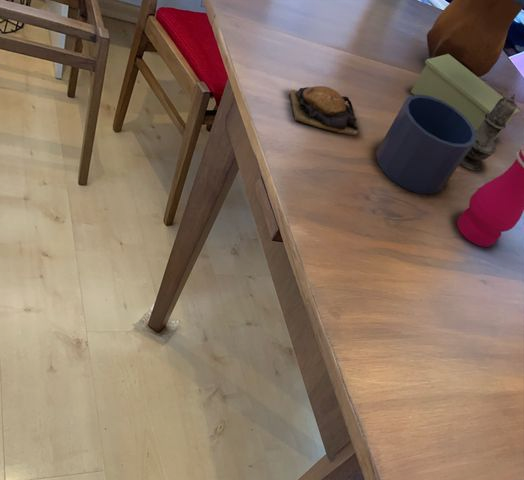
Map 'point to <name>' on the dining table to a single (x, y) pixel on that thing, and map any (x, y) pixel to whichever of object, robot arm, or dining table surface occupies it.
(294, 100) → the pastry on board
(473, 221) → the pepper mill
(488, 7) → the butternut squash
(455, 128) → the pot
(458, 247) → the dining table surface
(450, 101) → the pale green block
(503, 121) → the grey knobbly column
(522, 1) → the lid
